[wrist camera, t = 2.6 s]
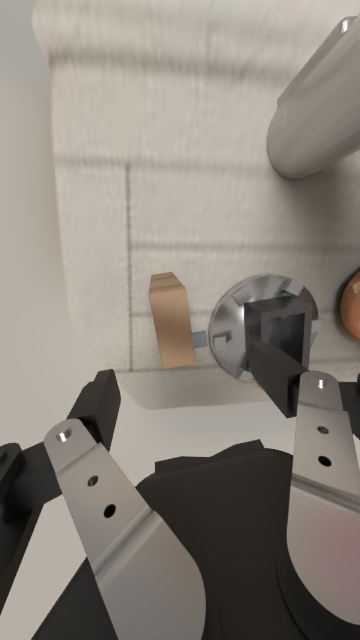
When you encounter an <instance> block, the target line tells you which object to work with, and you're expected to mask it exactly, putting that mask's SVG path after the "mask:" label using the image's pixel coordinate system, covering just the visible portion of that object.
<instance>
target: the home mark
mask: <svg viewBox="0 0 360 640" xmlns="http://www.w3.org/2000/svg"><path fill="white" fill-rule="evenodd" d="M192 340H193V348H197V347H202V346H207V340H206V332H205V331H203V332H197V333H192Z"/></svg>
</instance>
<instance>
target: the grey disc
mask: <svg viewBox="0 0 360 640" xmlns="http://www.w3.org/2000/svg"><path fill="white" fill-rule="evenodd" d="M322 326H323V319H322V318H320V317H318V310H317V306H316V303H315V301H314V298H313V297H312V295H311V294H310V292H309V291H308V290H307V289H306V288H305V287H304V284H302V283H299V282H297V281H295V280H293V279H291V278H288V277H283V276H278V275H268V274H267V275H258V276H254V277H251V278H248V279H245V280H243V281H242V282H240V283H238V284H236V285H235V286H234V287H232V288H231V289H230V290H229V291H228V292H226V294H225V295H224V296H223V297H222V298H221V299H220V301H219V302H218V304H217V305H216V307H215V309H214V311H213V314H212V317H211V320H210V324H209V341H210V345H211V348H212V351H213V353H214V355H215V357H216V358H217V360H218V361H219V363H220V364H221V366H222V367H223V368H224V369H225V370H227V371H228V372H229V373H231V374H233V375H234V376H237V378H238V379H239V380H242V381H245V382H248V383H250V382H251V380H255V378H254V377H253V375H252V373H251V370H250V354H249V345H250V343H255V342H260V341H264V342H265V343H267V344H268V345H269V346H270V347H272V348H273V347H274V348H277V349H280V350H282V351H284V352H285V353H287V354H288V355H289V356H291V357H292V358H293V359H294V360H296V361H297V362H298V363H300V364H301V365H302V366H304V367H305V368H306V369H308V367H309V352H310V347H311V345H312V343H313V341H314V338H315V336H316V333H318V332H322ZM258 384H259V383H258ZM260 387H261V386H260ZM261 388H262V387H261ZM262 389H263V388H262Z"/></svg>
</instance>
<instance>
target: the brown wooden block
mask: <svg viewBox="0 0 360 640" xmlns="http://www.w3.org/2000/svg"><path fill="white" fill-rule="evenodd" d="M149 298H150V303H151V308H152V313H153V319H154V324H155V329H156V334H157V339H158V345H159V350H160V355H161V360H162V365H163V370H164V369H169V368H175V367H180V366H186V365H191V364H196V363H195V355H194V348H193V340H192V333H191V325H190V318H189V310H188V303H187V295H186V288H185V287H184V286H183V285H182V284H181V282H180V281H179V280H178V279H177V278H176V277H175V275H174V274H173V273H172V272H169V273H163V274H156V275H152V276H151V283H150V290H149Z"/></svg>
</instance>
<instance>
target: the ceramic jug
mask: <svg viewBox="0 0 360 640" xmlns="http://www.w3.org/2000/svg"><path fill="white" fill-rule="evenodd" d="M340 311H341V318H342V321H343V324H344V326H345V327H346V329H347V330H348V331H349V332H350V333H351V334H352V335H353V336H354V337H356V338H357V339H359V340H360V270H359V271H358V272H357V273H356V275H355V276H354V277H353V278H352V279H351V281H350V282H349V284H348V285H347V287H346V289H345V291H344V293H343V296H342V300H341V308H340Z"/></svg>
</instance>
